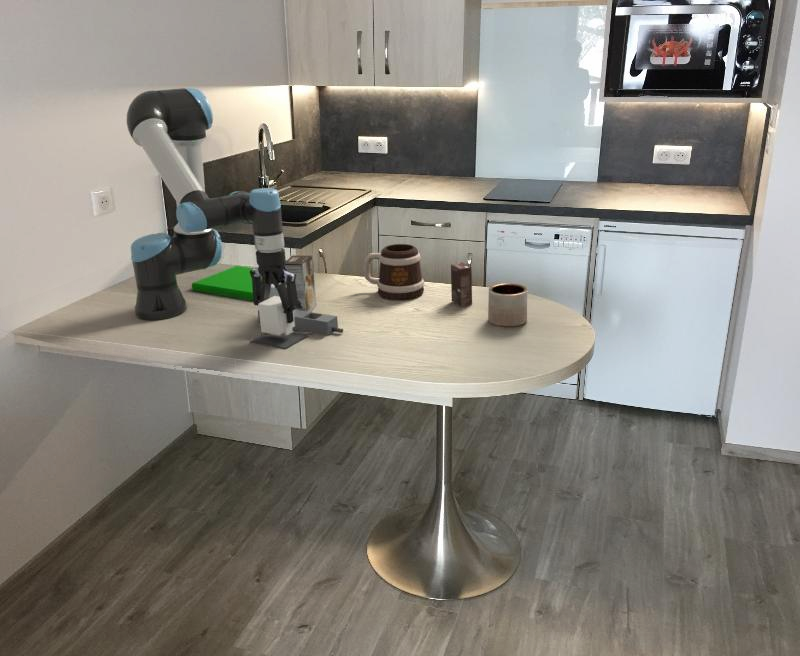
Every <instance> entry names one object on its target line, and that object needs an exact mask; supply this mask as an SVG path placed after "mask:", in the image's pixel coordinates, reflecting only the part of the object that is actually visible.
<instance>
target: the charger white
mask: <svg viewBox="0 0 800 656" xmlns="http://www.w3.org/2000/svg"><path fill="white" fill-rule="evenodd" d="M257 307H258V310H259V315H260V324H259V325H260V329H261V330H260V331H261V333H270V335H274V336H282V335H283V334H284V323H283V314H282V312H283V311H285V310H284V308H283V305H282V302H281V299H280V297H278V296H273V297H271V298H269V299H267V300H265V301H263V302H261V303H259V304H258V306H257ZM293 319H294V311H293ZM293 327H295V322H294V320H293V322H292V328H293Z"/></svg>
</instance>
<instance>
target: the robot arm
mask: <svg viewBox="0 0 800 656" xmlns="http://www.w3.org/2000/svg"><path fill="white" fill-rule="evenodd" d="M213 123H214V114H213V110H212V107H211V104H210V101H209V100H208V98H207V96H206V95H205V94H204V93H203V92H202V91H201V90H200V89H198V88H187V87H181V88H170V89H169V88H168V89H159V90H147V91H144V92H142V93H141V92H140V93H139V94H138V95H137V96H136V97H134V98H133V100H132V101H131V102H130V104H129V106H128V109H127V112H126V126H127V130H128V133H129V136H130V137H131V138H132V140H133V142H134V143H135V144H136V145H137V146H139V147H141V148H142V149H143V150H144V152H145V153H146V156H147V157H148V158H149V160H150V161H151V163H152V164H153V166H154V168H155V170H156V171H157V173H158V174H159V176H160V178H161V180H163V182H164V184H165V186H166V187H167V189H168V190H169V191H170V193H171V195H172V197H173V199H174V200H175V201H176V212H175V214H176V220H177V224H176V225H175V226H174V227H173V233H174V234H173V236H171V235H169V234H168V233H166V232H157V233H152V234H151V233H150V234H147V235H144V236H141V237H139V238H137V239H135V240H133V242H132V243H131V245H130V255H131V257H130V259H131V261H132V267H133V273H134V277H135V283H136V288H137V293H136V298H135V299H136V302H135V306H134V312H135V316H136V318H138V319H140V320H146V321H147V320H149V321H154V320H155V321H156V320H157V321H158V320H165V319H170V318H174V317H177V316H180V315H181V314H183V313H185V312H186V311H187V309H188V307H187V301H186V299H185V298H184V295H183V293H182V291H181V290H180V288H179V285H178V281H177V275H182V274H186V273H190V272H196V271H200V270H206V269H208V268H211V267H214V266H216V265H217V264H218V263H219V262H220V261H221V258H222V254H223V243H222V239H221V235H220V234H219V232H218V231H217V230H216V229H217V228H221V227H227V226H233V225H237V224H243V223H248V224H251V225H252V231H253V232H252V233H253V238H254V239H253V241H254V247H255V248H254V249H255V250H256V251H255V258H256V259H255V260H256V265H257V266H258V267H255V269H253V270H251V271H250V275H251V278H252V289H253V300H252V301H253V302H252V303H253V306H257V307H259V306H258V304H259V303H261V302H263V301H265V300H267V299H269V295H270V289H271V284H273V285H274V286H275V288H276V289H277V291H278V294H279V296H280V299H281V302H282V305H283V308H284V310H285V311H283V312H282V314H283V323H284V334H285V335H289V334H290V333H292V332H294V331H293V329H292V322H293V320H294V319H293V311H294V310H295V309H297V308H299V304H298V297H297V290H296V284H295V279H296V274H295V273H292V274H291V273H289V272H287V270H286V268H285V262H286V261H287V258H286V251H285V250H286V249H284V247H285V238H284V229H283V218H282V217H283V216H282V205H281V204H282V203H281V200H280V193H279V191H278V190H277V189H275V188H272V187H270V188H269V187H261V188H260V187H259V188H255V189H252V190H251V191H249V192H248V191H247V192H246V191H243V190H242V191H233V192H231V193H229V194H228V195H224V196H220V197H212V198H209V196H208V194H207V193H206V189H205V188H206V187H205V175H204V174H205V173H204V162H203V149H202V144H203V142H204V140H206V138H207V134H206V131H208V130H210V129H211V128H212V126H213ZM261 276H262V282H261ZM284 277H285V278H286V279H285V278H284ZM279 283H281V284H279ZM286 287H287V288H286Z"/></svg>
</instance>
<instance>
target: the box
mask: <svg viewBox="0 0 800 656" xmlns="http://www.w3.org/2000/svg"><path fill="white" fill-rule="evenodd" d="M472 270H473V269H472V266H471V265H469V264H467V263H465V262H456V263H451V264H450V287H451V289H450V291H451V302H453V303H455V304H456V305H458V306H459V308H460V307H466V306H471V305H473V283H472V282H473V279H472V278H473V276H472V275H473V274H472V272H473V271H472Z"/></svg>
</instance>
